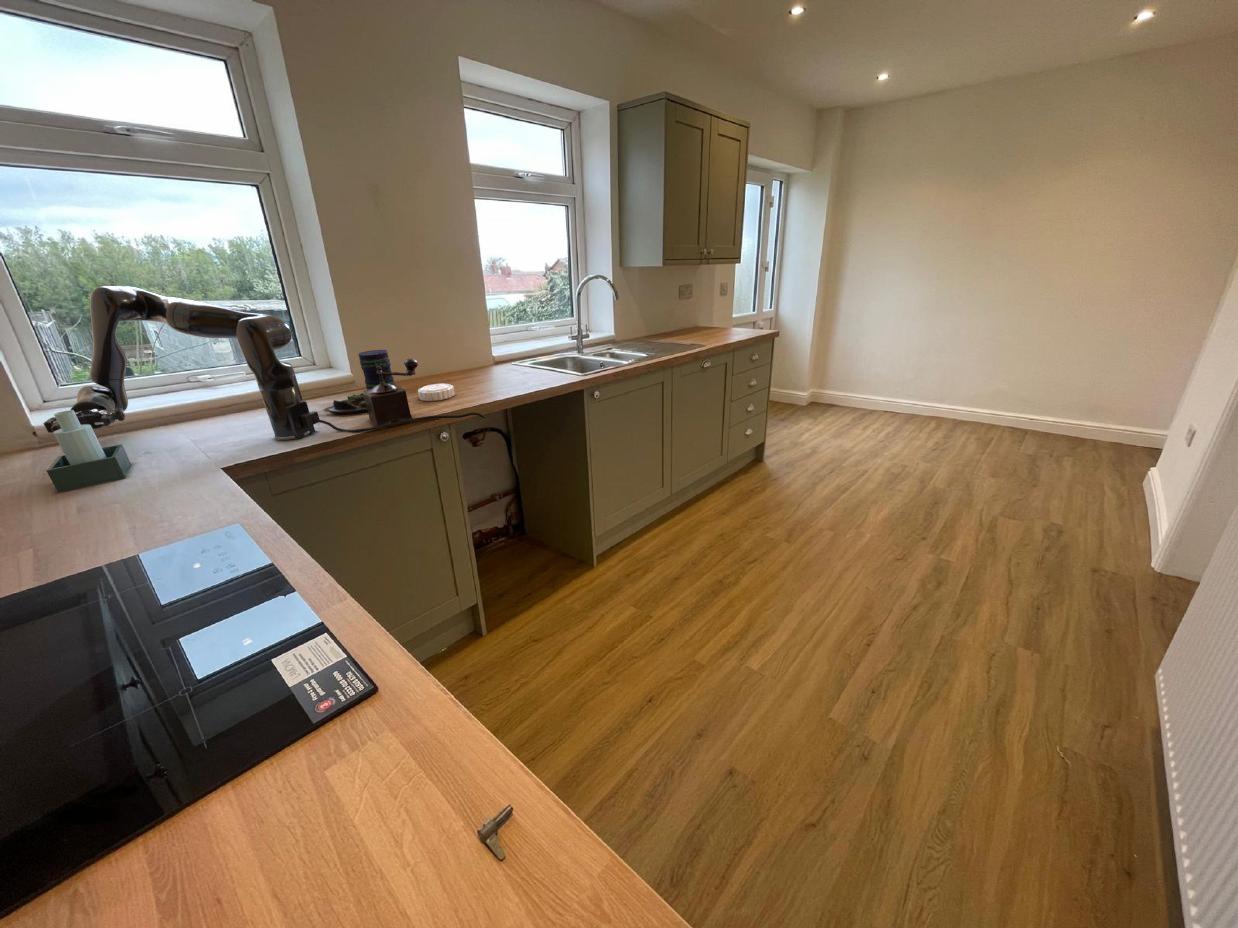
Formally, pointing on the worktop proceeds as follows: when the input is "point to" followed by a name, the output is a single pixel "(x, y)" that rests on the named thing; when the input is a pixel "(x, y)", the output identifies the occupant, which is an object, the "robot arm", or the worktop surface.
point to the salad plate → (349, 406)
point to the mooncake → (436, 392)
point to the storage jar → (375, 367)
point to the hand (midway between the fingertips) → (81, 426)
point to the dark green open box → (89, 470)
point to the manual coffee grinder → (389, 398)
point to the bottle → (77, 439)
